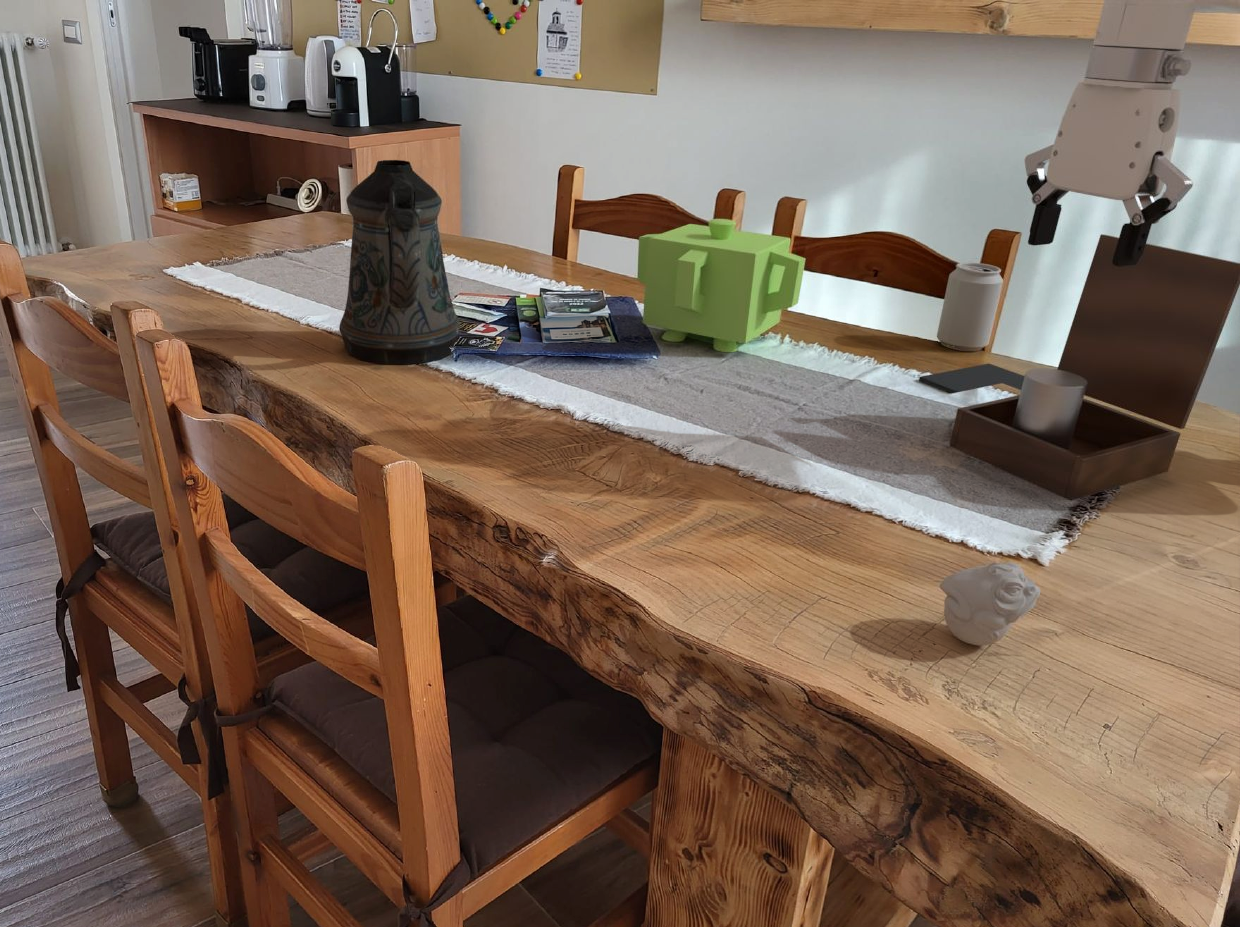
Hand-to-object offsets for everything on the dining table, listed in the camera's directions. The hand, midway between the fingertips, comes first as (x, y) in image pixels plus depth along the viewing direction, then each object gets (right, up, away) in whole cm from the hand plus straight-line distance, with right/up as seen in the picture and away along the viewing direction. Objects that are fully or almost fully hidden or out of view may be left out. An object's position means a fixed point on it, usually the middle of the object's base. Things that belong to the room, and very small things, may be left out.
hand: (1080, 254), depth 101 cm
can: (+8, -1, +50) cm, 51 cm away
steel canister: (-1, -21, +8) cm, 22 cm away
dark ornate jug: (-74, -4, +39) cm, 84 cm away
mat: (+6, -10, +33) cm, 34 cm away
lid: (+10, -6, +8) cm, 15 cm away
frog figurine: (-20, -36, -22) cm, 47 cm away
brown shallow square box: (+2, -21, +10) cm, 23 cm away
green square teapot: (-30, 0, +50) cm, 58 cm away
